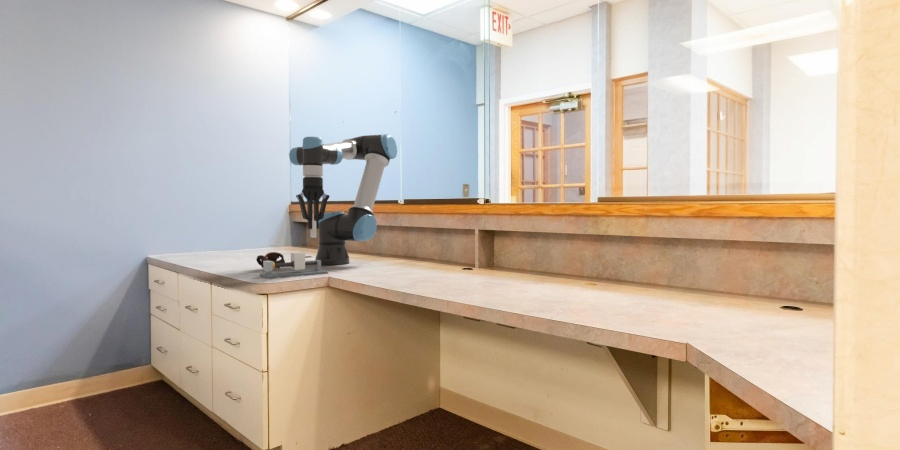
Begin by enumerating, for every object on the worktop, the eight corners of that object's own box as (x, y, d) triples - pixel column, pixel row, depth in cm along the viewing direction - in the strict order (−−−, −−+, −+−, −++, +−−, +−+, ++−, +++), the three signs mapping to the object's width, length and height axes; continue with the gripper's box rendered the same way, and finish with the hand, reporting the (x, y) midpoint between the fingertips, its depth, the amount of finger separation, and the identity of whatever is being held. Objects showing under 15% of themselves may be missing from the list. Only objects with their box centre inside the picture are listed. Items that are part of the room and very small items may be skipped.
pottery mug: (287, 269, 217) (289, 253, 213) (279, 281, 209) (280, 265, 205) (259, 262, 216) (260, 246, 212) (250, 274, 208) (251, 258, 204)
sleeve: (301, 268, 200) (300, 251, 200) (305, 269, 196) (304, 252, 196) (291, 268, 198) (290, 252, 197) (294, 270, 194) (294, 253, 193)
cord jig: (318, 270, 207) (318, 256, 206) (327, 273, 199) (327, 258, 198) (259, 275, 193) (259, 260, 193) (267, 278, 185) (267, 262, 185)
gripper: (325, 178, 206) (325, 236, 207) (293, 176, 198) (293, 237, 199) (332, 177, 200) (332, 237, 200) (299, 175, 192) (300, 238, 193)
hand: (313, 237), depth 200 cm, fingers closed
